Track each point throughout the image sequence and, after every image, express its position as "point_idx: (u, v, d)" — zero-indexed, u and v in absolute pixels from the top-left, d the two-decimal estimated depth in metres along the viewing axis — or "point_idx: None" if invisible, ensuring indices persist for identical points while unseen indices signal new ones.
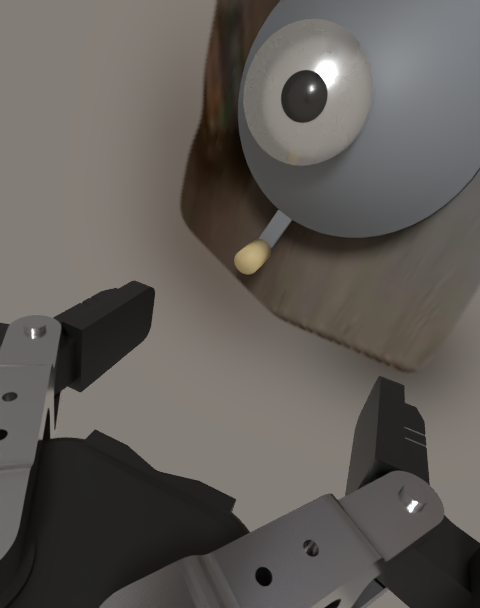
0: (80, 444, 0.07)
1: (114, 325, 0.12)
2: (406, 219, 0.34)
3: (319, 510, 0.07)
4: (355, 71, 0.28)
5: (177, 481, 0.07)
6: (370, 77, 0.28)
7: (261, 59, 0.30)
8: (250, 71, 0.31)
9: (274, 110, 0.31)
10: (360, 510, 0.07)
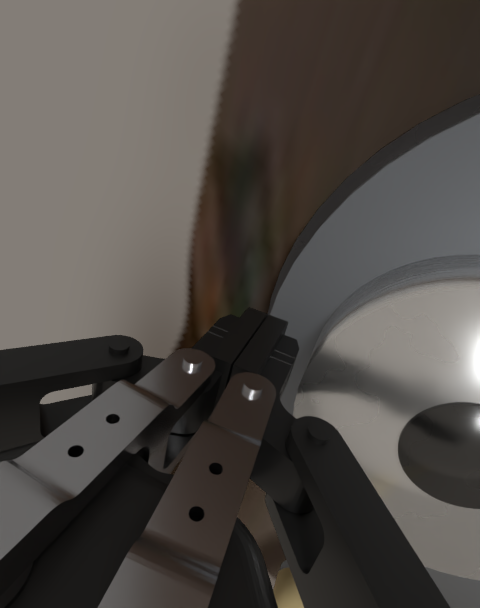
0: None
1: None
2: None
3: (205, 437, 0.07)
4: None
5: None
6: None
7: (348, 352, 0.11)
8: (314, 369, 0.12)
9: (376, 458, 0.12)
10: (226, 419, 0.09)
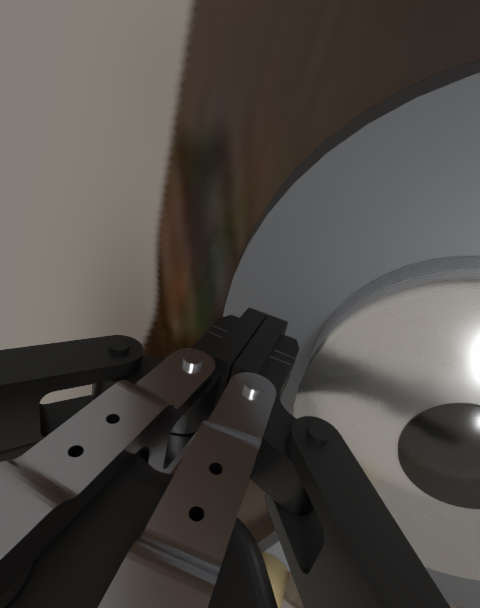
0: None
1: None
2: None
3: (205, 437, 0.07)
4: None
5: None
6: None
7: (347, 354, 0.11)
8: (313, 372, 0.12)
9: (376, 460, 0.12)
10: (226, 419, 0.09)
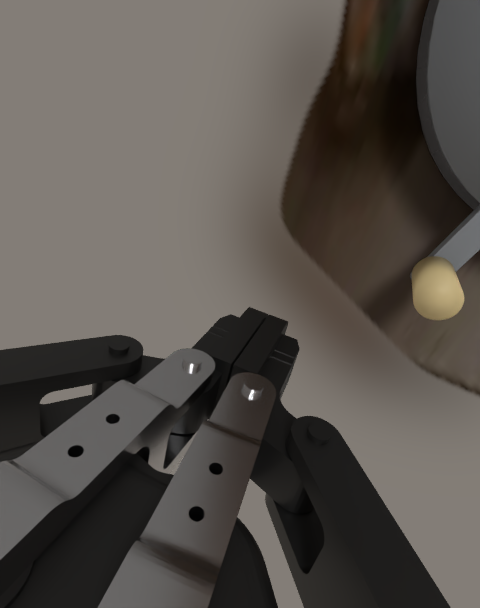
0: None
1: None
2: None
3: (205, 437, 0.07)
4: None
5: None
6: None
7: None
8: None
9: None
10: (226, 419, 0.09)
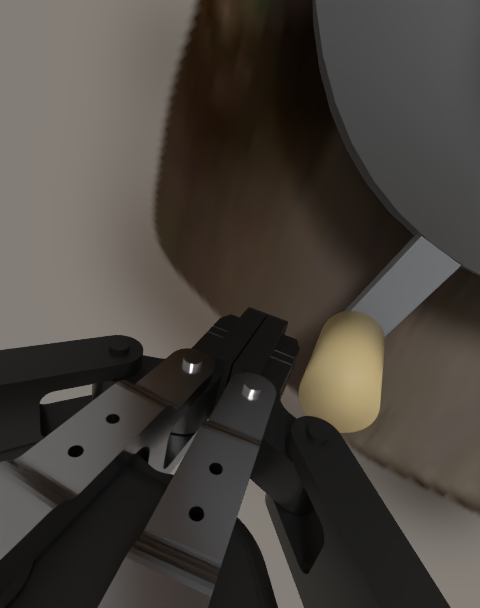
0: None
1: None
2: None
3: (205, 437, 0.07)
4: None
5: None
6: None
7: None
8: None
9: None
10: (226, 419, 0.09)
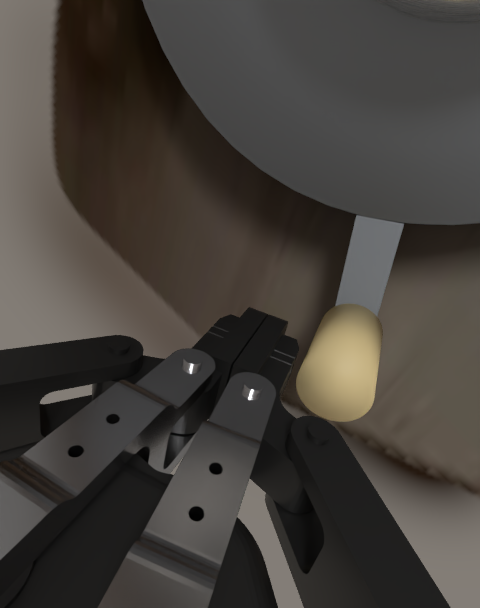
0: None
1: None
2: None
3: (205, 437, 0.07)
4: None
5: None
6: None
7: None
8: None
9: None
10: (226, 419, 0.09)
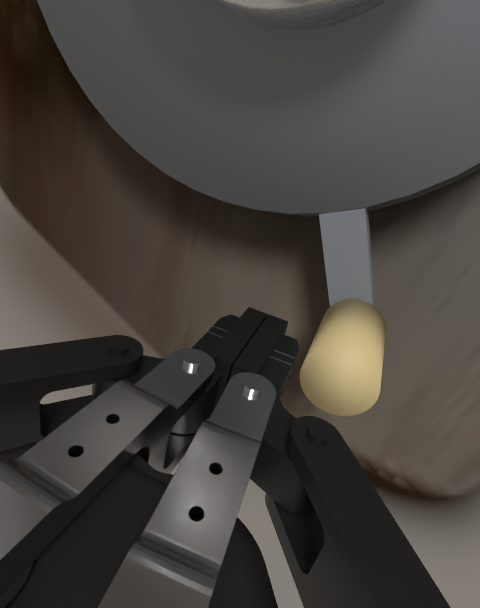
0: None
1: None
2: None
3: (205, 437, 0.07)
4: None
5: None
6: None
7: None
8: None
9: None
10: (226, 419, 0.09)
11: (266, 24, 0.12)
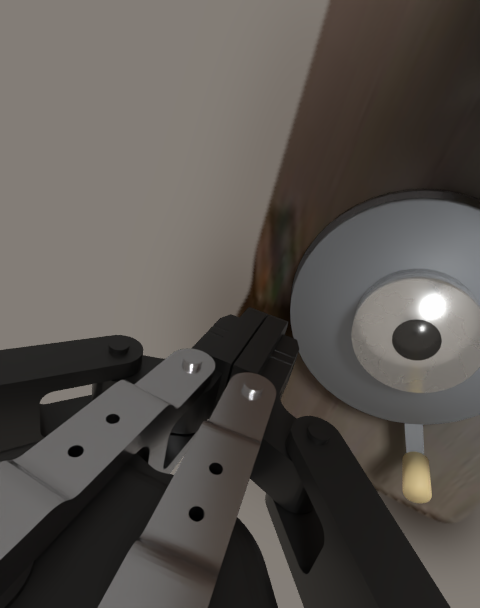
0: None
1: None
2: None
3: (205, 437, 0.07)
4: (445, 299, 0.29)
5: None
6: (463, 295, 0.29)
7: (358, 338, 0.33)
8: (356, 350, 0.33)
9: (398, 362, 0.33)
10: (226, 419, 0.09)
11: None
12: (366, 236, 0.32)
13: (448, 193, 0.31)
